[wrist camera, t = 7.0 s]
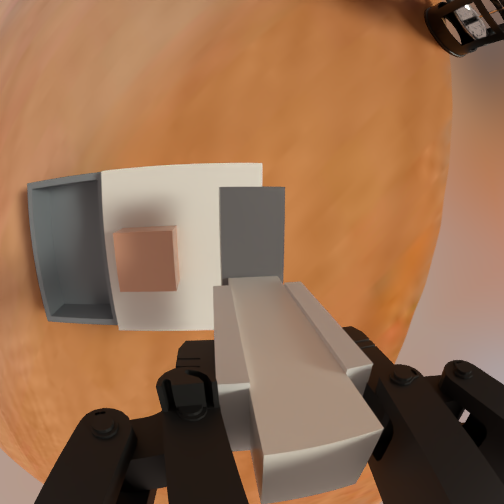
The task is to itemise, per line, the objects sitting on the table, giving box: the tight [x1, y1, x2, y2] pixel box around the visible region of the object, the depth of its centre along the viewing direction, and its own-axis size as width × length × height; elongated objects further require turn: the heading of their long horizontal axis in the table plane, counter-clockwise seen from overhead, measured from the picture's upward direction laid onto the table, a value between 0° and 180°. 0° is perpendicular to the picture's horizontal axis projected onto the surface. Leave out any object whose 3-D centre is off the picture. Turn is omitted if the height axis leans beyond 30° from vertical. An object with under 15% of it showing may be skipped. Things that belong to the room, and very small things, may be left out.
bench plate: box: [101, 163, 262, 331], centre depth 25 cm, size 14×13×5 cm
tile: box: [113, 225, 180, 292], centre depth 21 cm, size 4×4×2 cm
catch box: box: [27, 172, 118, 325], centre depth 24 cm, size 14×9×4 cm, turn 1°
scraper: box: [219, 187, 384, 504], centre depth 11 cm, size 11×3×13 cm, turn 1°
